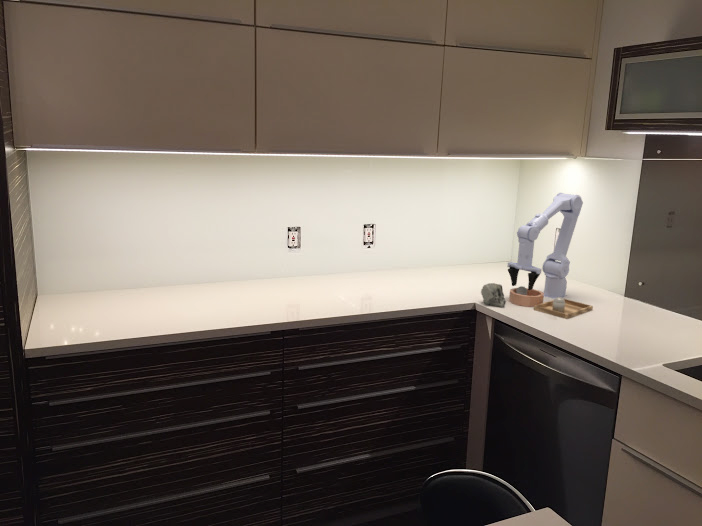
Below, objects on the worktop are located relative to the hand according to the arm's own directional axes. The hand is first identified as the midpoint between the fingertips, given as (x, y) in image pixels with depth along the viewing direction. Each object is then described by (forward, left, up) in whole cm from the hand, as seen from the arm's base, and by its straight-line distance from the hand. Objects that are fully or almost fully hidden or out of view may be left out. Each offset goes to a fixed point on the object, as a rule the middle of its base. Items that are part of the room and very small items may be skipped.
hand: (522, 287), depth 248 cm
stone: (+13, -5, -6) cm, 15 cm away
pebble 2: (+1, +17, -6) cm, 18 cm away
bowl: (0, +2, -6) cm, 7 cm away
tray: (-3, +17, -6) cm, 19 cm away
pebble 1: (0, 0, -5) cm, 5 cm away
